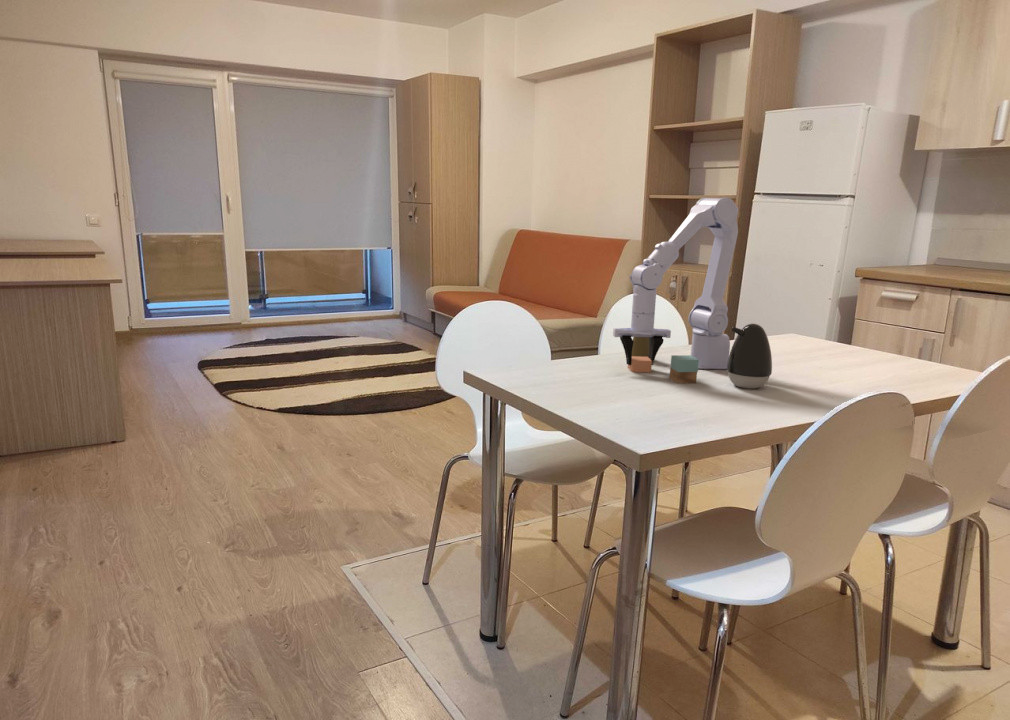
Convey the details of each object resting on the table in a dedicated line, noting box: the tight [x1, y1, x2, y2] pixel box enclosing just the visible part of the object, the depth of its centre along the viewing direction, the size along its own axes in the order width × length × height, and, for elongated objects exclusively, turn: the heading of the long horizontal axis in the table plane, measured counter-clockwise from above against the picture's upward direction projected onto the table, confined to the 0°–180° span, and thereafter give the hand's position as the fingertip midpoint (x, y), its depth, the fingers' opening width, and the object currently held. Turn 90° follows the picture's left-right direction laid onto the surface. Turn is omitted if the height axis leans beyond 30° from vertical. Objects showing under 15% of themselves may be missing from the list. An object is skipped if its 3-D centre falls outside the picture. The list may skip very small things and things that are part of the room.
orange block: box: [627, 356, 653, 373], centre depth 180 cm, size 5×5×3 cm
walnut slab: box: [669, 366, 698, 384], centre depth 170 cm, size 5×5×3 cm
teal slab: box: [670, 354, 699, 373], centre depth 169 cm, size 5×5×3 cm
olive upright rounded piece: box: [632, 334, 649, 357], centre depth 193 cm, size 6×6×11 cm
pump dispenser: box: [726, 323, 773, 390], centre depth 165 cm, size 10×10×15 cm
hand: (639, 364), depth 180 cm, fingers closed on orange block, 5 cm apart
